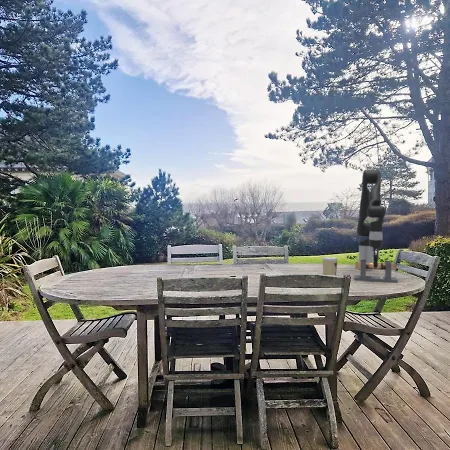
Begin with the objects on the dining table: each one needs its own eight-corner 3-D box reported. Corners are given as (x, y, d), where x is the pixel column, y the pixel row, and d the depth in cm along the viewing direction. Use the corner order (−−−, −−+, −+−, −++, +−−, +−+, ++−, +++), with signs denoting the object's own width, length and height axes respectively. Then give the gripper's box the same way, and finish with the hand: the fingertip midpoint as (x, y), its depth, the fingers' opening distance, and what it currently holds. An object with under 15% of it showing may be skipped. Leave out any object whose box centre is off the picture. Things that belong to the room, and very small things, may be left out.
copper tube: (355, 269, 232) (355, 262, 232) (355, 268, 236) (355, 261, 236) (396, 270, 224) (396, 264, 224) (395, 269, 228) (395, 263, 228)
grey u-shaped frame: (354, 277, 239) (354, 259, 239) (396, 279, 231) (396, 261, 231) (354, 280, 230) (354, 261, 229) (397, 282, 222) (397, 263, 221)
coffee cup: (338, 278, 237) (338, 258, 236) (322, 277, 238) (323, 258, 238) (336, 275, 246) (336, 257, 246) (321, 275, 248) (321, 256, 247)
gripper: (368, 238, 237) (368, 265, 238) (369, 239, 224) (369, 268, 225) (381, 238, 235) (381, 265, 236) (383, 239, 222) (382, 269, 222)
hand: (375, 266), depth 230 cm, fingers open, 4 cm apart
